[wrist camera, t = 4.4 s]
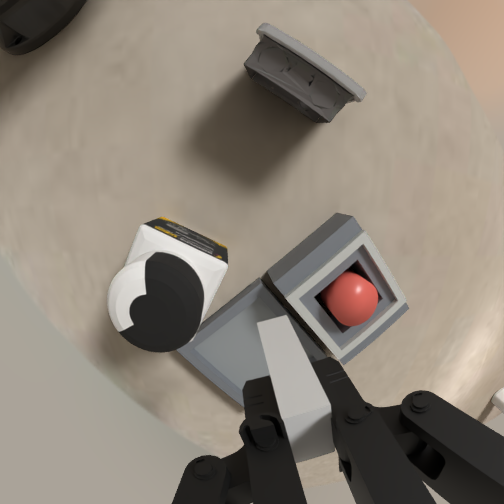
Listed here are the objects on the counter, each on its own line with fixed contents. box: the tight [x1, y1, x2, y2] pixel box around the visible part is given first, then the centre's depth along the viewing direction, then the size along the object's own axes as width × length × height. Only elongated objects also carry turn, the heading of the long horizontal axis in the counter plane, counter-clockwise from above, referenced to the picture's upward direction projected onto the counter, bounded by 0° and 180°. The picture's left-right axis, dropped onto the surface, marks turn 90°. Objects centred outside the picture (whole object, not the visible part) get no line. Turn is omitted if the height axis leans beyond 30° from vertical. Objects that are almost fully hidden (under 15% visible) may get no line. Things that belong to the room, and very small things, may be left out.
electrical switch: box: [244, 23, 367, 123], centre depth 21 cm, size 9×5×9 cm, turn 56°
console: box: [176, 213, 409, 407], centre depth 27 cm, size 12×21×5 cm, turn 130°
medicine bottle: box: [107, 217, 228, 352], centre depth 21 cm, size 7×7×12 cm
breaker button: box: [321, 269, 378, 326], centre depth 26 cm, size 4×4×4 cm
